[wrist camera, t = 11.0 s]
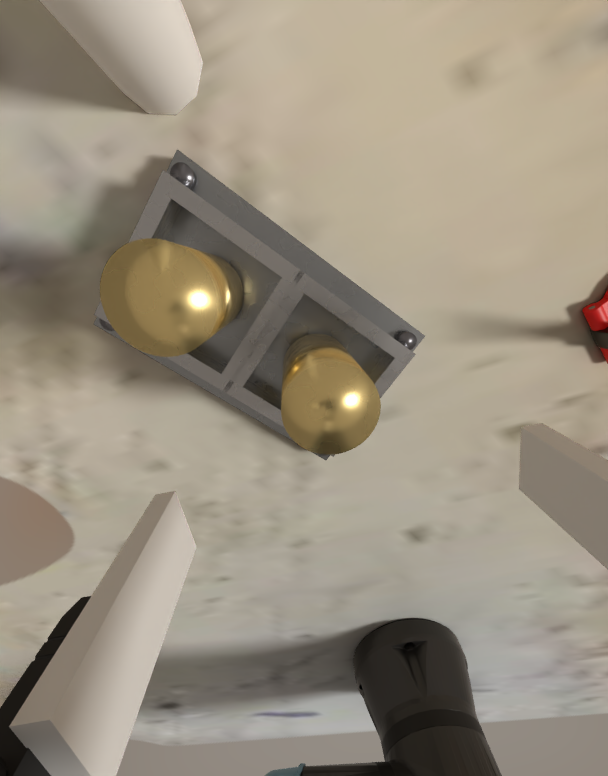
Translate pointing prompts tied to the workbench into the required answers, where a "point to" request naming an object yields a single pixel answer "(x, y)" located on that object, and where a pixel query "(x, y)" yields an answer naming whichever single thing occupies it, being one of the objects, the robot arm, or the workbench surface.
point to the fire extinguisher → (138, 47)
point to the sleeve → (326, 396)
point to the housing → (236, 297)
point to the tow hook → (599, 323)
